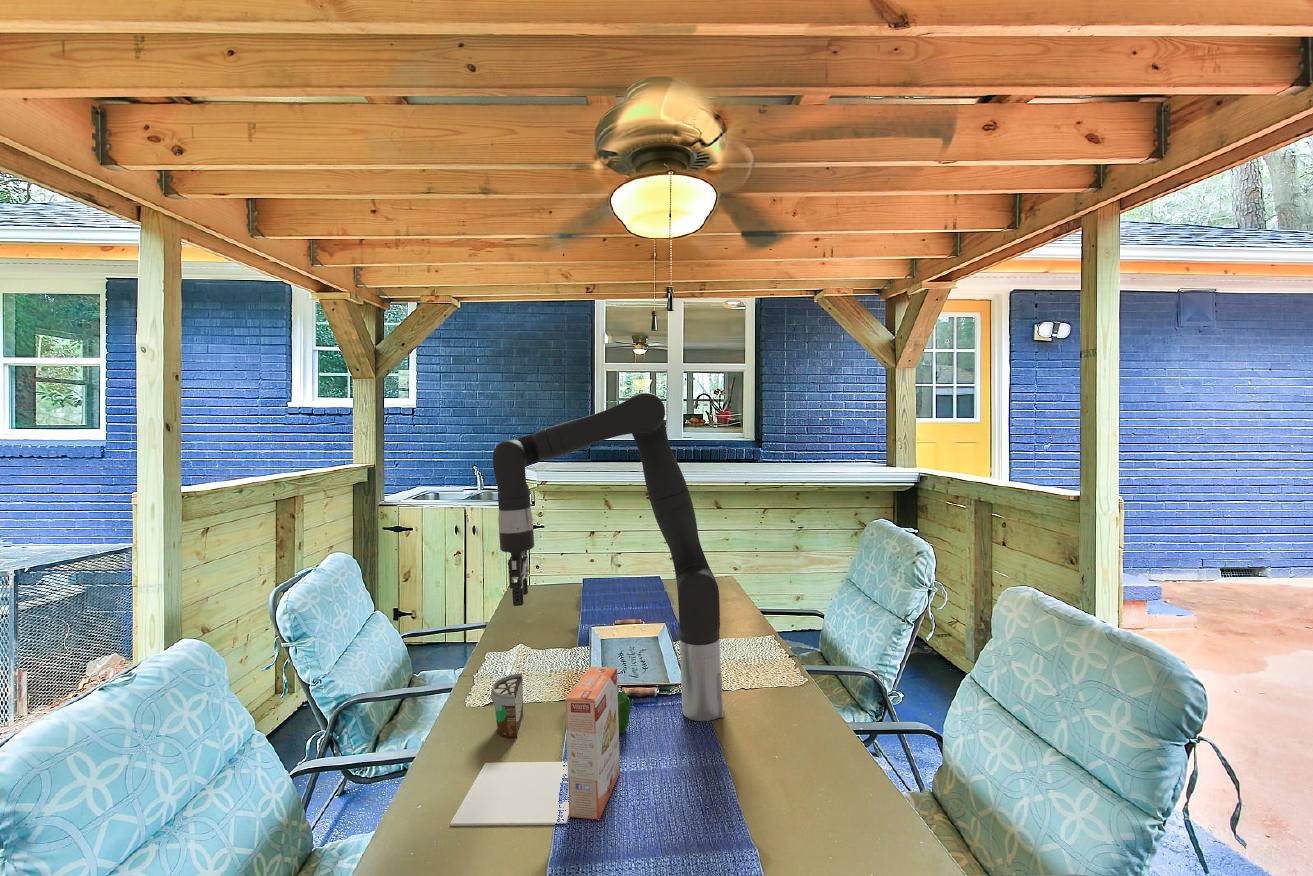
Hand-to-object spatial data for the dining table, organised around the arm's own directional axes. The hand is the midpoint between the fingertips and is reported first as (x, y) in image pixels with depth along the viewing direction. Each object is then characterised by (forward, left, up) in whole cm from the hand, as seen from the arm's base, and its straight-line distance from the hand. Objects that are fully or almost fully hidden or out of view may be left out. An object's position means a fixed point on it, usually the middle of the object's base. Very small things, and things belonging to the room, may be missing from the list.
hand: (520, 599), depth 134 cm
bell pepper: (-20, +4, -29) cm, 35 cm away
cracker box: (-20, +26, -29) cm, 44 cm away
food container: (+4, +2, -29) cm, 29 cm away
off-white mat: (-6, +25, -28) cm, 38 cm away
